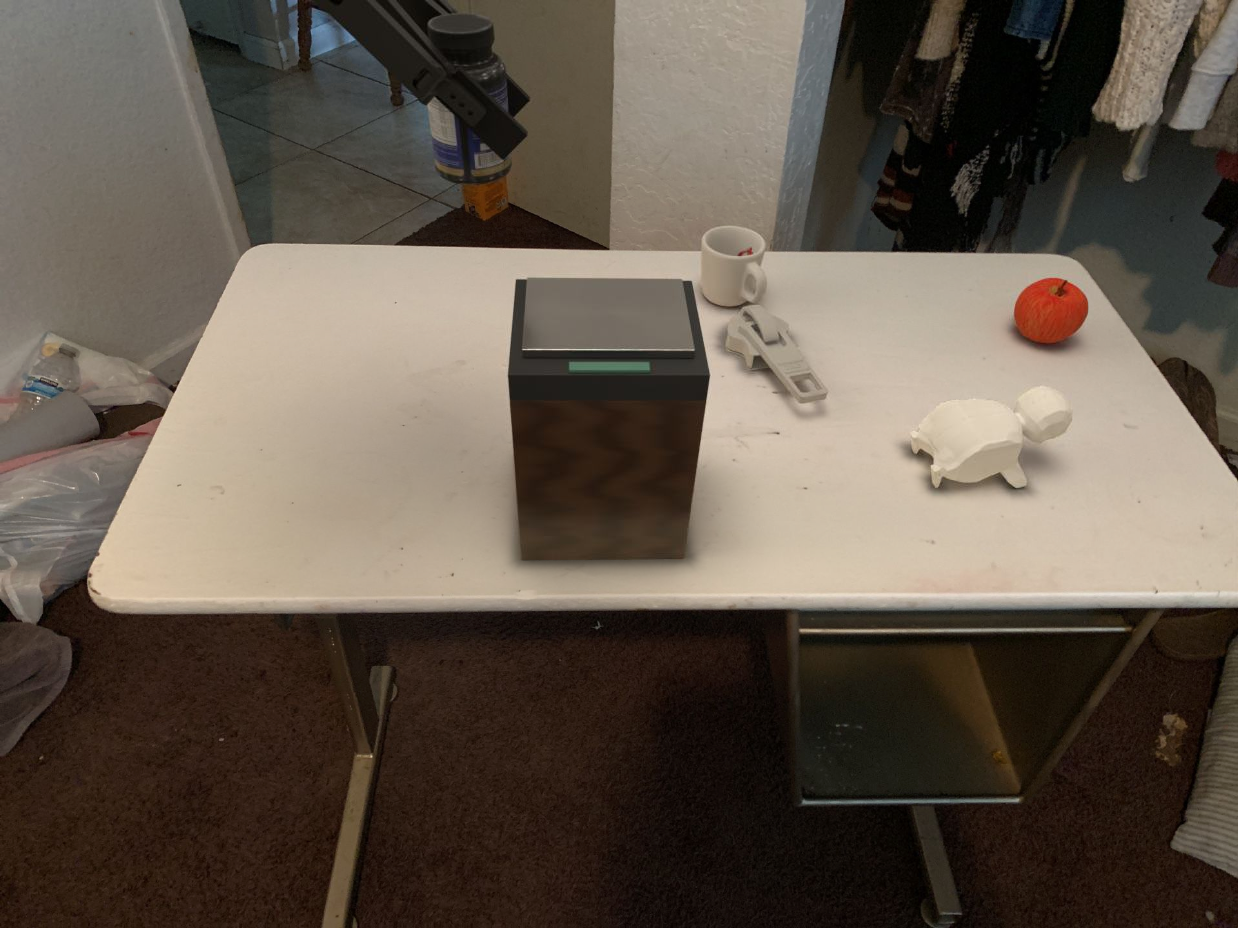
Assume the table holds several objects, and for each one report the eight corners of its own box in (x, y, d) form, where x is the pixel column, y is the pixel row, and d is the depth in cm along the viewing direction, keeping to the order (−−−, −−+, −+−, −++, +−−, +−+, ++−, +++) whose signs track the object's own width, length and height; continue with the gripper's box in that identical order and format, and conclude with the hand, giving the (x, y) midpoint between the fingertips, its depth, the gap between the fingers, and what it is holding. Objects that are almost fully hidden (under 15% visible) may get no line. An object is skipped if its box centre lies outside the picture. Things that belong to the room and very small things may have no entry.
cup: (782, 314, 106) (793, 259, 101) (731, 331, 103) (740, 275, 97) (732, 274, 113) (741, 219, 107) (683, 288, 110) (689, 233, 104)
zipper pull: (777, 423, 91) (784, 393, 88) (713, 330, 103) (717, 301, 100) (841, 410, 93) (850, 380, 90) (770, 320, 105) (776, 291, 102)
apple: (1061, 319, 108) (1088, 264, 102) (1079, 356, 102) (1109, 301, 96) (998, 313, 108) (1022, 259, 102) (1013, 350, 102) (1039, 295, 97)
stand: (521, 560, 76) (509, 400, 63) (526, 461, 85) (517, 304, 72) (684, 558, 77) (706, 400, 64) (671, 460, 86) (689, 305, 73)
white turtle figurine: (943, 516, 86) (1087, 465, 84) (938, 464, 80) (1093, 408, 78) (908, 459, 92) (1043, 410, 90) (901, 407, 86) (1045, 354, 84)
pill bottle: (512, 155, 70) (505, 10, 62) (511, 188, 65) (503, 37, 58) (438, 154, 69) (421, 8, 61) (431, 188, 65) (412, 35, 57)
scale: (509, 400, 63) (507, 366, 61) (517, 304, 72) (515, 270, 70) (706, 400, 64) (711, 366, 61) (689, 305, 73) (692, 272, 71)
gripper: (252, -116, 61) (492, 113, 73) (163, -51, 47) (476, 218, 60) (310, -205, 58) (551, 51, 70) (233, -163, 44) (549, 146, 56)
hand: (516, 127), depth 65 cm, fingers closed on pill bottle, 6 cm apart
